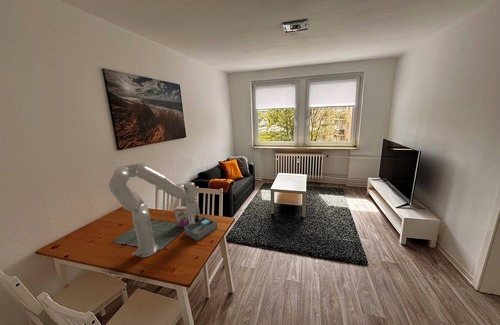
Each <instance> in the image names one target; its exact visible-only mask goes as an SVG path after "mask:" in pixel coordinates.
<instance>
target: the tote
mask: <svg viewBox="0 0 500 325" xmlns="http://www.w3.org/2000/svg"><path fill="white" fill-rule="evenodd" d="M205 219H206V220H208V221H210V225H209V226H208V227H206V228H205V229H203V228H202V227H201V222H202V221H204V220H205ZM217 224H218V222H217V221H216V220H214V219H211V218H209V217H207V216H202V217H199V222H198V223H196V224H192V223H191V224H189V225H187V226H186V227H183V232H184V235H186V236H187V237H189V238H191V239H192V240H194V241H196V242H199V241H200V240H202V239H203V238H205V237H206V236H208V235H209V234H211V233H213V232H214V231H215V230H217V229H218V225H217Z"/></svg>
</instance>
